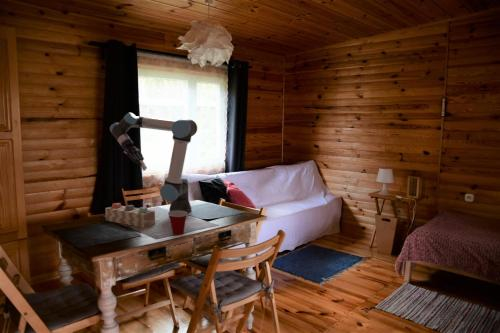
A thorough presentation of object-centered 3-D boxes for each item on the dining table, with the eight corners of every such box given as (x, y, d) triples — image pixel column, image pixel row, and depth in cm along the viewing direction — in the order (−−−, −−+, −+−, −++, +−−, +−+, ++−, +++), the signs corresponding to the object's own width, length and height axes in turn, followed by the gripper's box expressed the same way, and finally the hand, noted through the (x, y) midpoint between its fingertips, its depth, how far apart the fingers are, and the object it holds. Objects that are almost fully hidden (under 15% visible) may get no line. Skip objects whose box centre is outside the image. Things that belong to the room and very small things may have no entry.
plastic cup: (177, 237, 199) (176, 215, 198) (164, 234, 206) (163, 213, 204) (192, 232, 208) (191, 211, 206) (179, 229, 214) (178, 209, 213)
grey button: (123, 214, 231) (123, 206, 230) (130, 212, 235) (129, 204, 234) (129, 215, 228) (129, 207, 228) (135, 213, 233) (135, 205, 232)
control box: (106, 220, 236) (105, 208, 235) (118, 217, 245) (118, 205, 244) (143, 227, 220) (142, 214, 219) (155, 223, 228) (154, 210, 227)
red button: (110, 212, 237) (110, 204, 236) (117, 210, 241) (116, 202, 241) (116, 212, 234) (115, 205, 234) (122, 211, 239) (122, 203, 238)
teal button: (137, 216, 225) (137, 208, 224) (143, 214, 229) (143, 206, 228) (143, 217, 222) (143, 209, 222) (149, 215, 226) (149, 207, 226)
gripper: (131, 146, 252) (149, 171, 245) (115, 147, 241) (134, 174, 234) (136, 138, 248) (155, 164, 242) (120, 139, 237) (140, 166, 231)
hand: (145, 169), depth 238 cm, fingers closed
